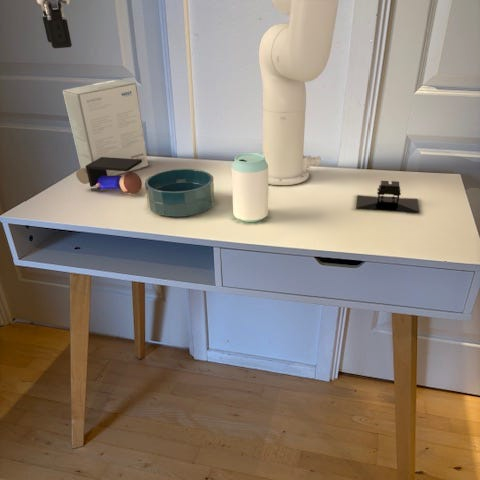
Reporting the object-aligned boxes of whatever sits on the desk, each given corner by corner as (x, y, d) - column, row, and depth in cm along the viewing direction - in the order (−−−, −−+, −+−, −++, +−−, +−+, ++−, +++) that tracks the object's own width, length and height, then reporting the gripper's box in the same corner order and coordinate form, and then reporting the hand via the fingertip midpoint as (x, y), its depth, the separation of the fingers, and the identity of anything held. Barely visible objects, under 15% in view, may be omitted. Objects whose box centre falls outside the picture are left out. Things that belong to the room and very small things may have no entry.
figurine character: (80, 198, 115) (134, 199, 109) (70, 165, 110) (125, 164, 105) (98, 188, 120) (150, 188, 114) (89, 156, 115) (142, 155, 109)
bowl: (202, 188, 113) (200, 165, 110) (224, 211, 103) (223, 185, 99) (142, 199, 109) (138, 174, 106) (157, 223, 99) (154, 197, 95)
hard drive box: (133, 160, 132) (120, 78, 120) (149, 166, 127) (138, 82, 116) (80, 174, 124) (61, 88, 112) (95, 182, 119) (77, 93, 107)
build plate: (417, 200, 104) (421, 179, 102) (418, 214, 99) (423, 192, 96) (357, 196, 107) (360, 175, 104) (355, 209, 101) (358, 187, 98)
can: (263, 225, 96) (263, 164, 89) (229, 221, 98) (226, 161, 91) (271, 210, 102) (272, 152, 95) (238, 208, 104) (236, 150, 97)
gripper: (63, -85, 72) (87, 48, 82) (53, -76, 85) (75, 38, 95) (8, -85, 70) (40, 52, 80) (7, -75, 83) (34, 41, 93)
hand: (59, 44), depth 87 cm, fingers open, 9 cm apart
